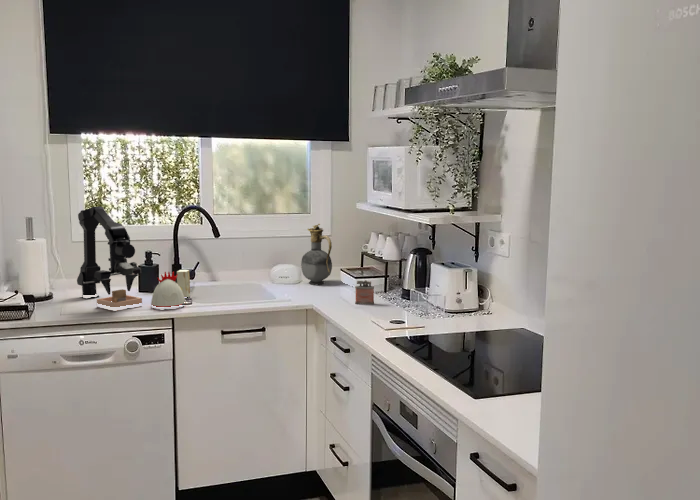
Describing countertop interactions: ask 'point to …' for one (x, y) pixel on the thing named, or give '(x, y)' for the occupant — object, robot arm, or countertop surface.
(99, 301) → the brown square tray
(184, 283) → the skincare box
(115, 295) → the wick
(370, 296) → the lighter
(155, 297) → the grey crested dome
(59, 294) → the countertop surface
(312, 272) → the pitcher
